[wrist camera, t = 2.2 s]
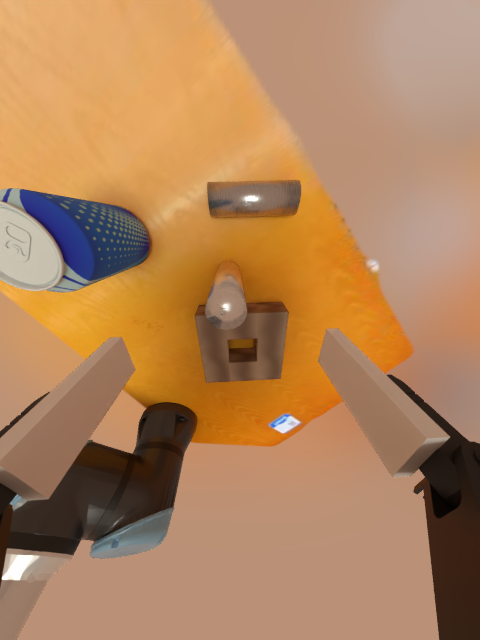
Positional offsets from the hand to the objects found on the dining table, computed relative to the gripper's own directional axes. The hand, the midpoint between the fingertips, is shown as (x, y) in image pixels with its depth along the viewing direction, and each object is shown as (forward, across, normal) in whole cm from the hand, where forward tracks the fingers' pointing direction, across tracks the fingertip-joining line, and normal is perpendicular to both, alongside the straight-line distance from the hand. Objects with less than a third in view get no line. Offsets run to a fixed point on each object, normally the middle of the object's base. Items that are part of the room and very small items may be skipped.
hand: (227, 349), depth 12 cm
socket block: (+22, +2, -14) cm, 26 cm away
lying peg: (+22, +4, +11) cm, 25 cm away
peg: (+22, 0, 0) cm, 22 cm away
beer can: (+22, -16, +6) cm, 28 cm away
